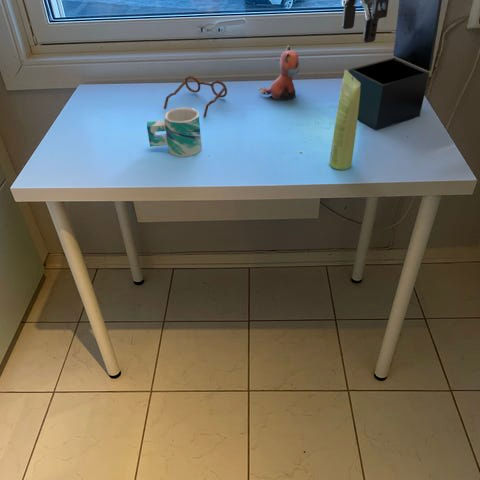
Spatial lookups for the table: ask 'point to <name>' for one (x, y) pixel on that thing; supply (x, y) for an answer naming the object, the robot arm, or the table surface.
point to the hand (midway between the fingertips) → (357, 34)
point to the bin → (389, 92)
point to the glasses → (198, 91)
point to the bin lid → (417, 31)
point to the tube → (345, 123)
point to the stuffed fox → (284, 77)
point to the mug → (177, 132)
